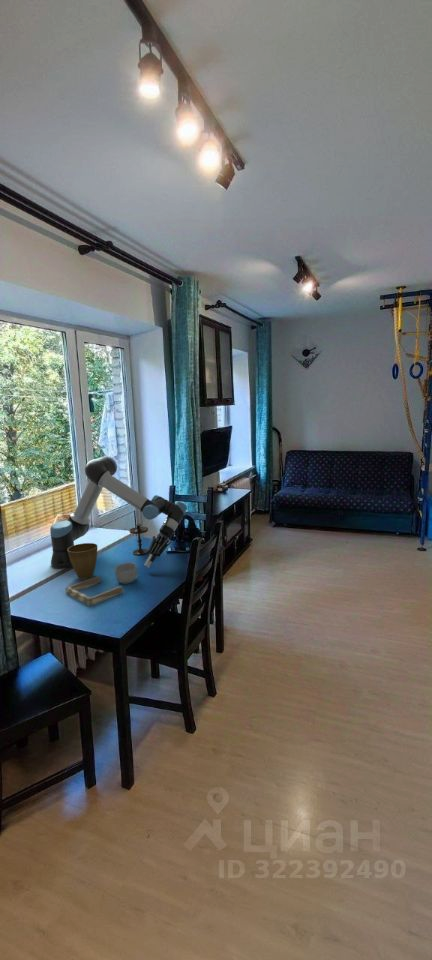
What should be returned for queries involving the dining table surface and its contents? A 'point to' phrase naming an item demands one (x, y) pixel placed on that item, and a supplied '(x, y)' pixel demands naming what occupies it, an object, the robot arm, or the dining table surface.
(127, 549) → the dining table surface
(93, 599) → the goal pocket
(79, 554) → the plant pot
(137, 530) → the candlestick
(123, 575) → the teacup
